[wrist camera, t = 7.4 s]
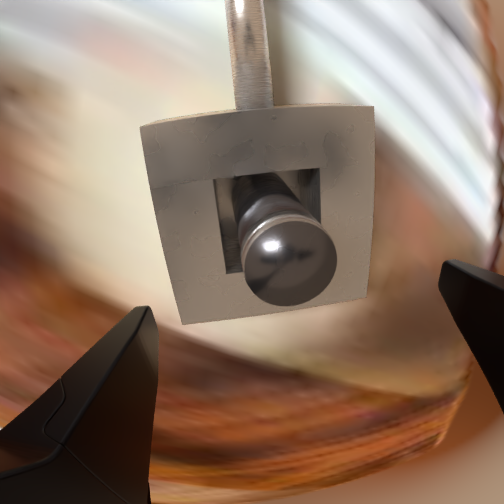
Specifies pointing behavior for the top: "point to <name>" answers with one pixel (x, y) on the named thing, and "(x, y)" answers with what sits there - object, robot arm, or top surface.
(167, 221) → the grey holed paddle
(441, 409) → the top surface
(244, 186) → the dark metal cylinder
